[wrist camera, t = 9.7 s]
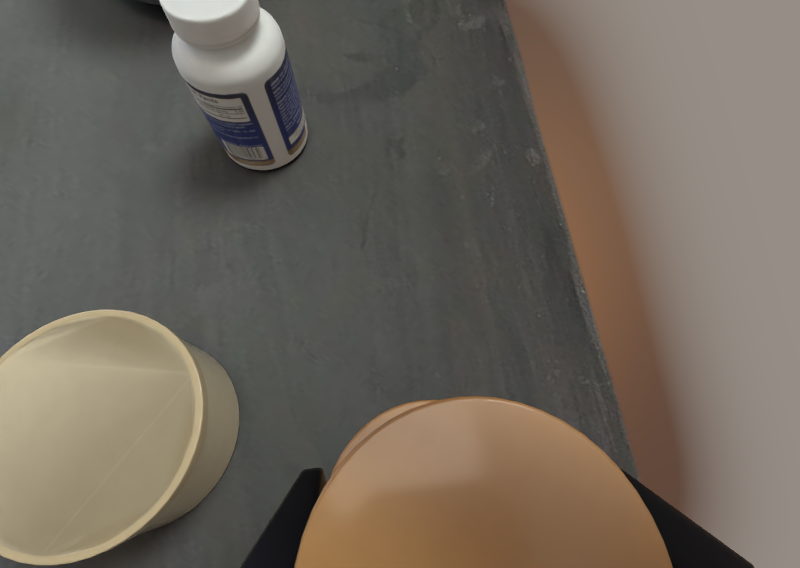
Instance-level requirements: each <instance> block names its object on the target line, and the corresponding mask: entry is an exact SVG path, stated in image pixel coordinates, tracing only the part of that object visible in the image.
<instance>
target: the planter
mask: <svg viewBox="0 0 800 568" xmlns="http://www.w3.org/2000/svg"><path fill="white" fill-rule="evenodd" d="M138 1H141V2H145V3H149V4H154V5H161V4H160V1H159V0H138Z"/></svg>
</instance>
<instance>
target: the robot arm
mask: <svg viewBox="0 0 800 568" xmlns="http://www.w3.org/2000/svg"><path fill="white" fill-rule="evenodd" d="M620 470H621V471H622V472H623V473H624V475H625V476H626V477H627V479H628V480H629V481H630V483H631V484H632V485H633V487H634V488H635V489H636V491H637V492H638V494H639V495H640V497H641V499H642V500H643V502H644V504H645V505H646V507H647V509H648V510H649V512H650V514H651V515H652V517H653V520H654V522H655V524H656V526H657V528H658V530H659V532H660V534H661V537H662V539H663V541H664V543H665V546H666V549H667V552H668V555H669V558H670V561H671V563H672V566H673V568H754V566H753V565H752V564H751V563H749V562H748V561H747V560H745V559H744V558H743V557H741V556H740V555H739V554H737V553H736V552H734V551H733V550H732V549H730V548H729V547H727V546H726V545H724V544H723V543H722V542H721V541H719V540H718V539H717V538H715V537H714V536H713V535H711V534H710V533H708V532H707V531H706V530H704V529H703V528H702V527H700V526H699V525H697V524H696V523H695V522H693V521H692V520H691V519H689V518H688V517H686V516H685V515H684V514H682V513H681V512H680V511H678V510H677V509H675V508H674V507H673V506H671V505H670V504H668V503H667V502H666V501H664V500H663V499H662V498H660V497H659V496H658V495H656V494H655V493H653V492H652V491H651V490H649V489H648V488H646V487H645V486H644V485H643V484H641V483H640V482H638V481H637V480H636V479H634V478H633V477H632V476H630V475H629V474H627V473H626V472H625V471H623V470H622V469H621V468H620ZM325 485H326V479H325V474H324V470H323V469H322V468H312V469H305V470H303V471H302V472H301V474H300V475H299V477H298V478H297V480H296V481H295V483H294V484H293V486H292V488H291V489H290V491H289V492H288V494H287V495H286V497H285V498H284V500H283V502H282V503H281V505H280V506H279V508H278V509H277V511H276V512H275V514H274V516H273V517H272V519H271V520H270V522H269V523H268V525H267V526H266V528H265V529H264V531H263V533H262V534H261V536H260V537H259V539H258V540H257V542H256V543H255V545H254V547H253V548H252V550H251V551H250V553H249V554H248V556H247V557H246V559H245V561H244V562H243V564H242V565H241V567H240V568H294V566H295V562H296V558H297V554H298V550H299V546H300V542H301V538H302V535H303V532H304V530H305V527H306V524H307V522H308V519H309V517H310V514H311V511H312V509H313V507H314V505H315V503H316V501H317V500H318V498H319V496H320V494H321V492H322V490H323V488H324V486H325Z"/></svg>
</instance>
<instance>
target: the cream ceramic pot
mask: <svg viewBox="0 0 800 568" xmlns="http://www.w3.org/2000/svg"><path fill="white" fill-rule="evenodd" d="M238 428H239V407H238V400H237V396H236V392H235V389H234V387H233V384H232V382H231V380H230V378H229V376H228V375H227V373H226V371H225V370H224V369H223V367H222V366H221V365H220V364H219V363H218V361H216V360H215V359H214V358H213V357H212V356H211V355H209V354H208V353H206V352H205V351H203V350H202V349H200V348H198V347H196V346H194V345H192V344H190V343H188V342H186V341H184V340H182V339H181V338H180V337H179V336H178V335H177V334H176V333H175V332H173V331H172V330H170V329H169V328H167V327H166V326H164V325H163V324H161V323H159V322H157V321H155V320H153V319H150V318H148V317H146V316H144V315H140V314H137V313H133V312H128V311H121V310H95V311H87V312H82V313H78V314H74V315H70V316H67V317H64V318H61V319H58V320H56V321H54V322H52V323H49V324H47V325H45V326H43V327H41V328H39V329H38V330H36V331H34V332H33V333H31V334H29V335H28V336H26V337H25V338H24V339H22V340H21V341H19V342H18V343H17V344H15V345H14V346H13V347H12V348H11V349H10V350H8V351H7V352H6V353H5V354H4V355H3V356H2V357H1V358H0V555H1V556H3V557H5V558H8V559H11V560H14V561H17V562H20V563H26V564H32V565H61V564H67V563H74V562H77V561H81V560H84V559H88V558H91V557H94V556H97V555H99V554H102V553H104V552H106V551H109V550H111V549H113V548H116V547H118V546H119V545H121V544H123V543H125V542H126V541H128V540H130V539H131V538H133V537H135V536H136V535H139V534H142V533H145V532H148V531H151V530H153V529H156V528H159V527H162V526H164V525H166V524H169V523H171V522H173V521H175V520H176V519H178V518H180V517H182V516H183V515H185V514H186V513H188V512H189V511H190V510H192V509H193V508H194V507H196V506H197V505H198V504H199V503H200V502H201V501H202V500H203V499H204V498H205V497H206V496H207V495H208V494H209V493H210V491H211V490H212V489H213V488H214V487H215V485H216V484H217V482H218V481H219V479H220V478H221V476H222V475H223V473H224V471H225V469H226V467H227V466H228V464H229V462H230V459H231V456H232V454H233V451H234V448H235V444H236V440H237V436H238Z"/></svg>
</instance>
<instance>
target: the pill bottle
mask: <svg viewBox="0 0 800 568" xmlns="http://www.w3.org/2000/svg"><path fill="white" fill-rule="evenodd" d="M159 1H160V4H161V6H162V8H163V10H164V12H165V14H166V16H167V18H168V20H169V23H170V25H171V27H172V29H173V30H174V35H173V39H172V55H173V59H174V62H175V64H176V66H177V68H178V70H179V72H180V74H181V76H182V77H183V79H184V81H185V82H186V84H187V86H188V88H189V89H190V91H191V93H192V94H193V96H194V98H195V100H196V102H197V103H198V105H199V107H200V108H201V110H202V112H203V114H204V115H205V117H206V119H207V120H208V122H209V124H210V126H211V127H212V129H213V131H214V132H215V134H216V136H217V137H218V139H219V141H220V143H221V144H222V146H223V148H224V149H225V151H226V152H227V154H228V155H229V156H230V158H231V159H232V160H234V161H235V162H236V163H238V164H239V165H241V166H243V167H246V168H249V169H254V170H271V169H274V168H278V167H281V166H283V165H285V164H287V163H289V162H290V161H292V160H293V159H294V158H296V157H297V156H298V155H299V154H300V152H301V151H302V149H303V148H304V146H305V144H306V140H307V134H308V130H307V123H306V119H305V115H304V111H303V108H302V105H301V101H300V97H299V93H298V89H297V86H296V82H295V79H294V75H293V71H292V68H291V64H290V60H289V57H288V53H287V50H286V46H285V42H284V39H283V36H282V33H281V30H280V28H279V26H278V24H277V23H276V21H275V20H274V18H273V17H272V16H271V15H270V14H269V13H268V12H266V11H265V10H264V9H262V8H261V7H260V6H259V2H258V0H159Z"/></svg>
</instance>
